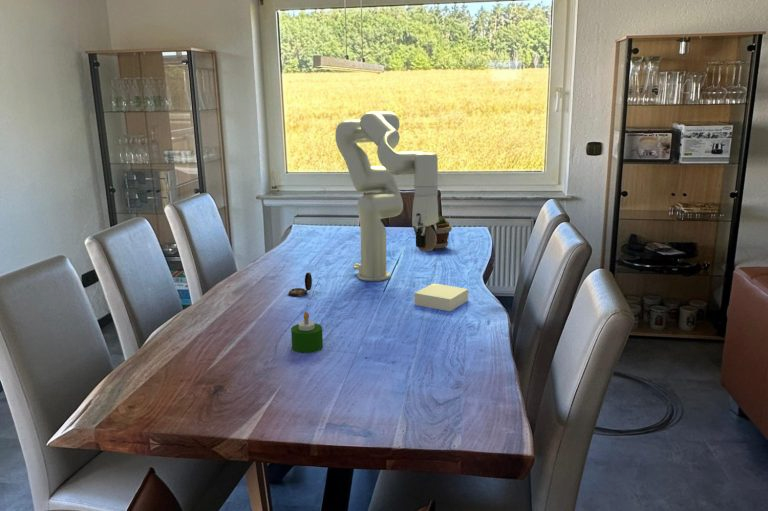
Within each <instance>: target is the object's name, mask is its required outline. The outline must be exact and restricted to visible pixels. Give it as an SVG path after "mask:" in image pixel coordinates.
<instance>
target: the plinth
mask: <svg viewBox="0 0 768 511" xmlns="http://www.w3.org/2000/svg"><path fill="white" fill-rule="evenodd" d="M413 299H414V305H415V306H419V307H426V308H430V309H435V310H441V311H446V312H451V311H454V310H455V309H457V308H459V307H460V306H462V305H464V304H465V303H466V302H468V301H469V288H464V287H459V286H453V285H452V286H451V285H446V284H440V283H434V282H433V283H432V284H429V285H427V286H425V287H423V288H422V289H419V290H418V291H415V292H414V298H413Z"/></svg>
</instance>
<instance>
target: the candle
mask: <svg viewBox="0 0 768 511" xmlns="http://www.w3.org/2000/svg"><path fill="white" fill-rule="evenodd" d="M309 318H310V315H309V313H308V312H307V311H306V312H305V311H304V314H303V321H299V322H298V323H297V324H294V325H293V326H292V327H291V330H290V331H291V332H290V333H291V334H290V335H291V336H290V337H291V349H292V350H293V351H294V353H295V352H296V353H299V354H300V353H302V354H310V353H311V354H312V353H316V352H320V350H322V349H323V347H324V346H323V345H324V344H323V342H324V341H323V326H322V325H321V324H319V323H315V321H313V320H309Z"/></svg>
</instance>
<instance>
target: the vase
mask: <svg viewBox="0 0 768 511" xmlns="http://www.w3.org/2000/svg"><path fill="white" fill-rule="evenodd" d="M420 229H421V231H422V228H420ZM424 235H425V247H424V248H422V247H417V248H418V249H419V251H421V252H430V251H434V250H433V249H434V247H435V246H436V242H437V237H436V233H435V231H434V230H433V229H432V227H431V226H428V227H426V228H425V232H424Z"/></svg>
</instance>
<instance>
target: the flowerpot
mask: <svg viewBox="0 0 768 511" xmlns="http://www.w3.org/2000/svg"><path fill="white" fill-rule="evenodd" d="M438 217H439V221H438V225H437V231H436V237H437V242H436V246H435V247H434V249H433V250H432V251H442V250H443V251H444V250H445V249H446V248H447V247H448V245H449V241H448V239H449V237H450V236H449V235H450V232H452V229H453V227H452V225H451V224H450V222H449V221H448V220H446V218H445V217H444V215H442V214H439V215H438ZM421 226H422V224H421Z"/></svg>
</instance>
